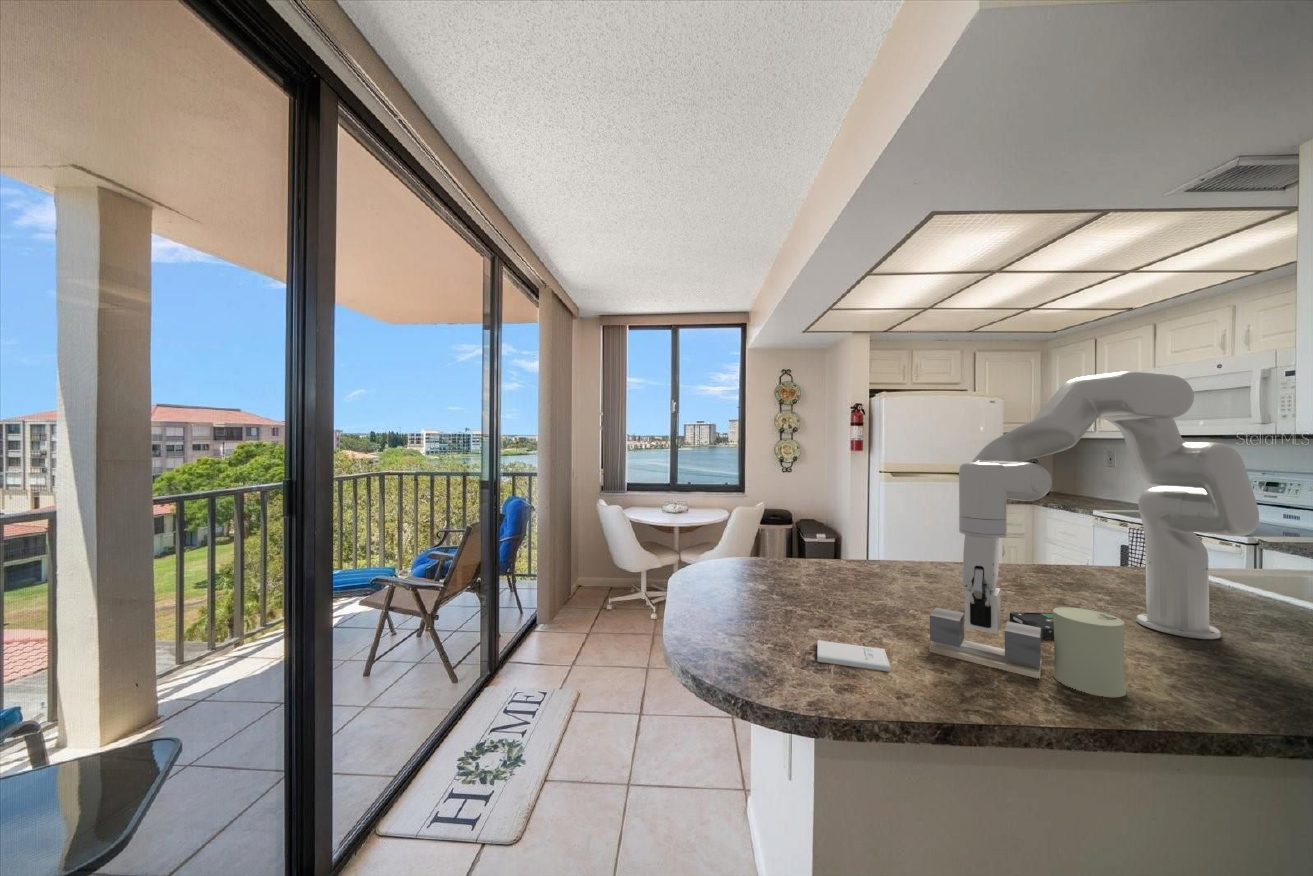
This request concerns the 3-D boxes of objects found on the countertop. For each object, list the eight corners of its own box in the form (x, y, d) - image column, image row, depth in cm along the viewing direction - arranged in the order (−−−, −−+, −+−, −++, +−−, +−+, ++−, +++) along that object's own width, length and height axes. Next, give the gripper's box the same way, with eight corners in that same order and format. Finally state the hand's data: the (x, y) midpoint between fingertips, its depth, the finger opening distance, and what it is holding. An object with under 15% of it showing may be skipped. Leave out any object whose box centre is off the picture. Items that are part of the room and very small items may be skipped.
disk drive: (1043, 642, 100) (1116, 642, 99) (1042, 629, 100) (1115, 629, 100) (1008, 624, 110) (1074, 624, 110) (1008, 611, 110) (1074, 611, 110)
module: (969, 618, 95) (969, 582, 95) (1000, 625, 92) (1000, 587, 92) (965, 627, 90) (964, 589, 90) (997, 634, 87) (997, 594, 87)
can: (1142, 700, 76) (1141, 624, 76) (1076, 695, 78) (1075, 621, 78) (1099, 673, 85) (1098, 605, 85) (1041, 669, 87) (1040, 602, 87)
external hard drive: (817, 647, 97) (884, 656, 93) (817, 664, 89) (890, 674, 85) (817, 639, 97) (884, 647, 93) (817, 655, 89) (890, 665, 85)
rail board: (936, 640, 99) (936, 606, 99) (1041, 665, 88) (1040, 627, 88) (929, 651, 94) (929, 615, 94) (1040, 679, 83) (1039, 638, 83)
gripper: (966, 519, 100) (966, 605, 100) (951, 530, 87) (952, 629, 87) (1010, 523, 95) (1010, 614, 95) (1002, 535, 82) (1002, 640, 82)
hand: (982, 620), depth 91 cm, fingers closed on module, 6 cm apart
